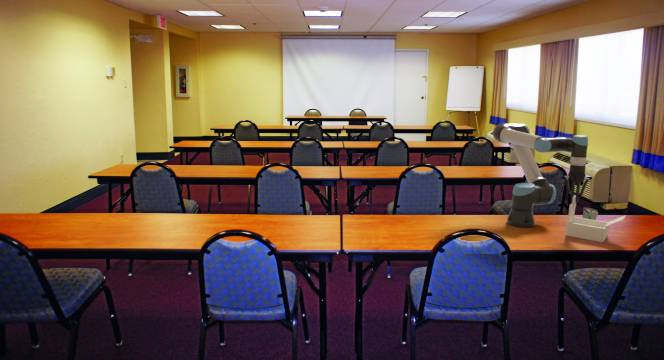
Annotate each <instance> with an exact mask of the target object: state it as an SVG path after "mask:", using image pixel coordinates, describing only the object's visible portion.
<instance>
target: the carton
mask: <svg viewBox="0 0 664 360" xmlns="http://www.w3.org/2000/svg"><path fill="white" fill-rule="evenodd" d="M608 222H609V221H608ZM608 222H607V221H602V220H601V221H600V220H597V219H596V220H590V219H584V218H583V217H578V216H574V217H573V218H572V219H570V220H569V221H568V220H567V222H566V230H565V232H566V233H565V236H566V237H571V238H577V239H580V240H587V241H592V242H597V243H604V242H605V241H606V240H607V238H608V236H609V228H610V226H608V227H606V228H605V226H606V225H607V223H608Z"/></svg>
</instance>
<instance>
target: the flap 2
mask: <svg viewBox="0 0 664 360" xmlns="http://www.w3.org/2000/svg"><path fill="white" fill-rule="evenodd" d="M626 217H627V215H622V216H620V217H617V218H615V219H612V220H610V221H608V223H607V225H606V226H605V228H606V227H608V226H609V227H611V226H613V225H616V224H618V223H621V222H623V221H624V220H625V218H626Z"/></svg>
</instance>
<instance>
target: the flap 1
mask: <svg viewBox="0 0 664 360" xmlns="http://www.w3.org/2000/svg"><path fill="white" fill-rule="evenodd" d="M572 206H573V203H572V202H571V203H570V204H569V208H568V215H567V216H568V217H567V218H568V219H567V222H568V221H569V220H570V219H572V218H573V217H575V212H576V207H575V208H572Z"/></svg>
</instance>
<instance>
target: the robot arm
mask: <svg viewBox="0 0 664 360" xmlns="http://www.w3.org/2000/svg"><path fill="white" fill-rule="evenodd" d="M492 131H493V132H492V136H493V137H492V138H494V140H495V141H496V142H499V143H502V144H508V145H509V147H510V148H511V149H513V151H514V154H515V155H516V158H517V159H518V162H519V165H520V167H521V169H522V172H523V174H524V176H525V178H526V181H527V182H519V183H515V184H514V186H513V187H512V189H513V190H512V197H511V209H510V212H509V214H508V215H507V219H506V224H508V225H510V226H513V227H518V228H532V227H535V224H536V221H535V216H534V206H541V205H543V206H545V205H549V204H551V203H553V202H554V201H555V200H556V197H557V188H556V186H555V185H554V184H551V183H549V181H548V180H547V178H545V177H543V175H542V172H541V170H540V167H539V166H538V163H537V162H536V158H535V157H534V154H533V153H532V150H531V149H533V150H535V151H536V152H538V153H553V152H555V153H556V152H564V153H565V152H566V153H570V160H569V163H570V164H569V171H568V174H567V175H565V176H563V179H564V181H565V182H564V183H565V187H566V192H567V193H566V194H567V195H569V196H570V202H571V203H573V206H572V208H575V209H576V207H577V203H578V202H579V199H580V198H579V197H581V196H583V194H584V192H585V189H586V187H587V184H588V182H590V181H591V179H590V178H588V177H587V176H586V167H587V166H586V165H587V155H588V154H587V152H588V147H589V137H588V136H587V135H581V134H580V135H579V134H578V135H577V134H576V135H572V138H571V137H565V136H556V137H545V136H540V135H537V134H532V133H531V132H530V128H529V127H528V126H527V125H526V124H525V123H522V122H511V123H509V122H508V123H505V122H504V123H499V124H497V125H496V126H495V127H494V129H493V130H492ZM569 179H570V180H569ZM570 181H571V186H570ZM582 181H584V182H583V184H582V187H581V183H582ZM575 189H576V191H575ZM580 189H581V190H580Z"/></svg>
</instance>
